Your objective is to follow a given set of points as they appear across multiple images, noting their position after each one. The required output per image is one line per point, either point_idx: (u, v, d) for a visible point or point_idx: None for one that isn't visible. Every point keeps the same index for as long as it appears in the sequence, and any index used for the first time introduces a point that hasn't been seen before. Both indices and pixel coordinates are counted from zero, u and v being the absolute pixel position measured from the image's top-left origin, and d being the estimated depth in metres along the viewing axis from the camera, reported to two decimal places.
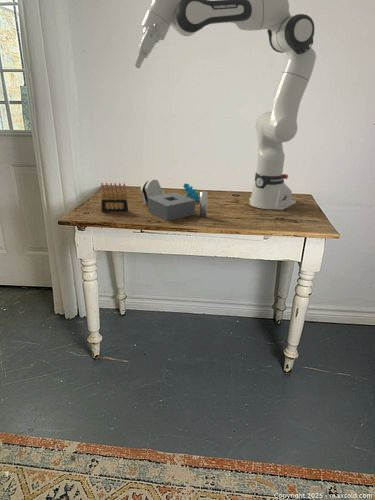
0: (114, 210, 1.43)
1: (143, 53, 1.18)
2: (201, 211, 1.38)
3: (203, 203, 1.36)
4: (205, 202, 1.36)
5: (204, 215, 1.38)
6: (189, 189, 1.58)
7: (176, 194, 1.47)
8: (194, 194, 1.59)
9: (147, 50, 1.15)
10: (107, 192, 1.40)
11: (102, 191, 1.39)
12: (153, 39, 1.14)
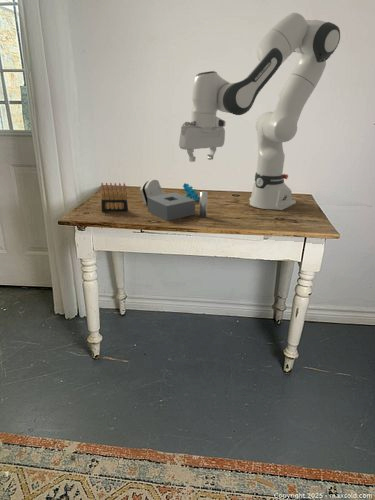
0: (114, 210, 1.43)
1: (189, 150, 1.24)
2: (201, 211, 1.38)
3: (203, 203, 1.36)
4: (205, 202, 1.36)
5: (204, 215, 1.38)
6: (189, 189, 1.58)
7: (176, 194, 1.47)
8: (194, 194, 1.59)
9: (183, 147, 1.21)
10: (107, 192, 1.40)
11: (102, 191, 1.39)
12: (185, 136, 1.19)
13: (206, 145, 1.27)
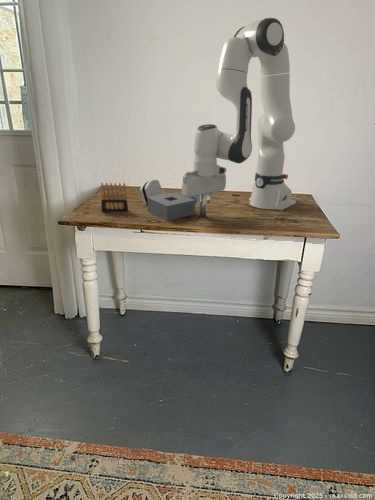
0: (114, 210, 1.43)
1: (196, 195, 1.34)
2: (201, 211, 1.38)
3: (203, 203, 1.36)
4: (205, 202, 1.36)
5: (204, 215, 1.38)
6: None
7: (176, 194, 1.47)
8: None
9: (185, 195, 1.29)
10: (107, 192, 1.40)
11: (102, 191, 1.39)
12: (186, 185, 1.28)
13: (207, 191, 1.34)
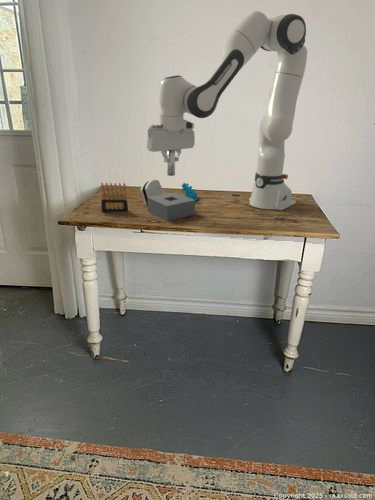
0: (114, 210, 1.43)
1: (163, 151, 1.30)
2: (169, 169, 1.34)
3: (170, 160, 1.33)
4: (173, 159, 1.33)
5: (172, 173, 1.35)
6: (187, 189, 1.58)
7: (176, 194, 1.47)
8: (192, 194, 1.59)
9: (151, 150, 1.26)
10: (107, 192, 1.40)
11: (102, 191, 1.39)
12: (151, 139, 1.24)
13: (175, 147, 1.31)
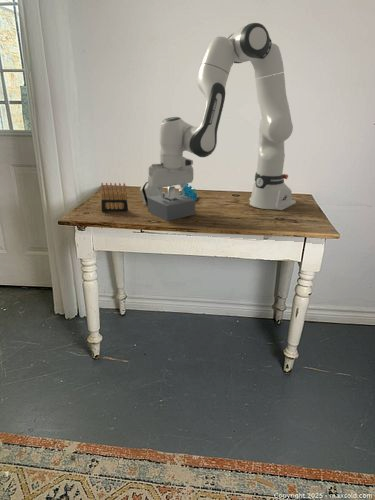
0: (114, 210, 1.43)
1: (158, 188, 1.35)
2: None
3: (170, 197, 1.39)
4: (173, 196, 1.39)
5: None
6: (187, 188, 1.59)
7: (176, 194, 1.47)
8: (192, 194, 1.59)
9: (151, 187, 1.32)
10: (107, 192, 1.40)
11: (102, 191, 1.39)
12: (152, 177, 1.30)
13: (174, 183, 1.37)
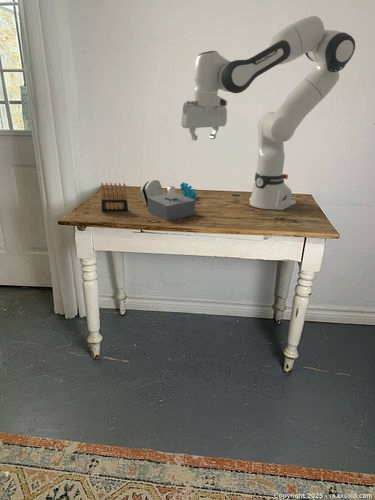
0: (114, 210, 1.43)
1: (191, 129, 1.29)
2: None
3: (170, 197, 1.39)
4: (172, 197, 1.39)
5: None
6: (186, 188, 1.59)
7: (176, 194, 1.47)
8: (191, 194, 1.60)
9: (185, 126, 1.26)
10: (107, 192, 1.40)
11: (102, 191, 1.39)
12: (186, 115, 1.24)
13: (208, 124, 1.31)
